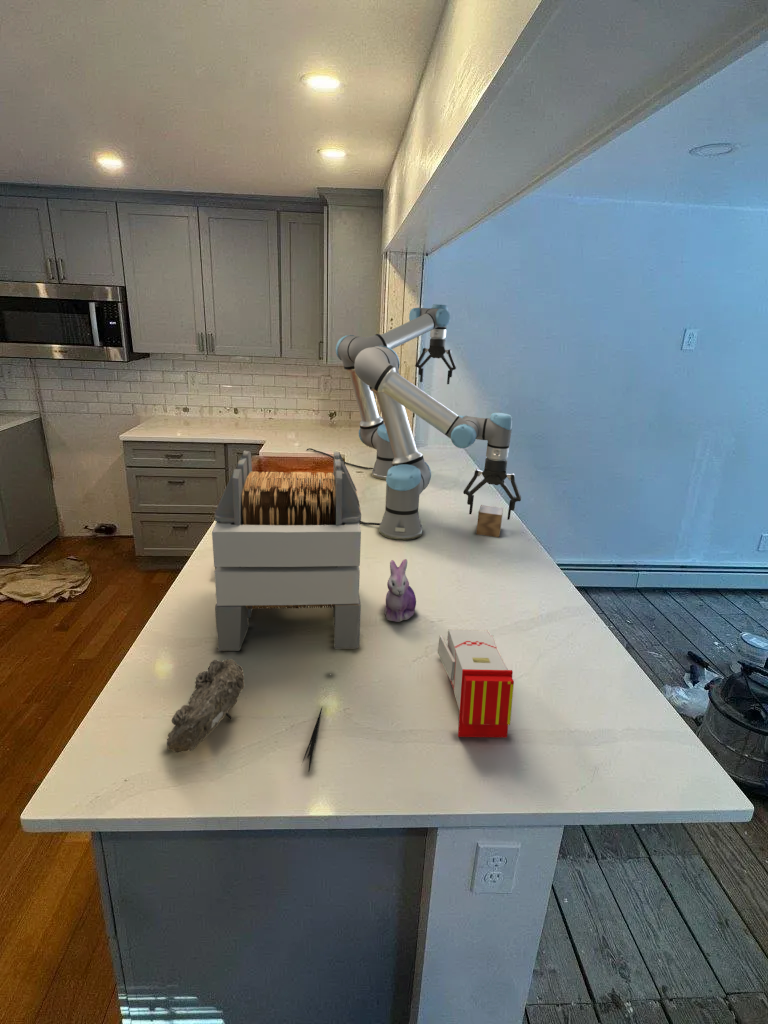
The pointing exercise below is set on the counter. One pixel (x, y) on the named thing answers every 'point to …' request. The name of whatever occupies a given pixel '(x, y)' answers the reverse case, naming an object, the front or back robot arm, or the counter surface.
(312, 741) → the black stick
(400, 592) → the figurine
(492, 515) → the block
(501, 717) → the toy
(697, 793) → the counter surface
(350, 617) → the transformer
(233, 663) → the fossil
